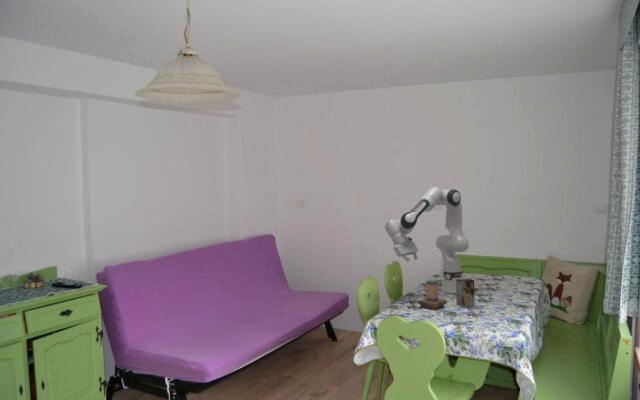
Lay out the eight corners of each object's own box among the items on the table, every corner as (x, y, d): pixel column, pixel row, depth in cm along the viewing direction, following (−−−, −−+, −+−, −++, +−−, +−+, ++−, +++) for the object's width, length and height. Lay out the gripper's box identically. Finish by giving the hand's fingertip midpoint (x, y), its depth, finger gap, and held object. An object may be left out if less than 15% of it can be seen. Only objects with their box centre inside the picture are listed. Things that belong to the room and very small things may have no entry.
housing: (430, 299, 311) (430, 279, 310) (438, 300, 307) (437, 280, 307) (426, 300, 307) (426, 281, 307) (433, 301, 303) (433, 282, 303)
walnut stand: (429, 303, 316) (429, 297, 315) (446, 306, 307) (446, 300, 307) (418, 307, 307) (418, 300, 307) (435, 310, 299) (435, 303, 298)
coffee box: (469, 303, 314) (468, 278, 314) (474, 305, 308) (474, 279, 308) (456, 304, 312) (455, 279, 311) (461, 307, 306) (461, 280, 305)
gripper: (395, 241, 315) (407, 259, 310) (412, 237, 330) (424, 255, 325) (388, 246, 319) (400, 265, 314) (406, 242, 334) (417, 260, 329)
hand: (412, 260), depth 320 cm, fingers open, 8 cm apart
